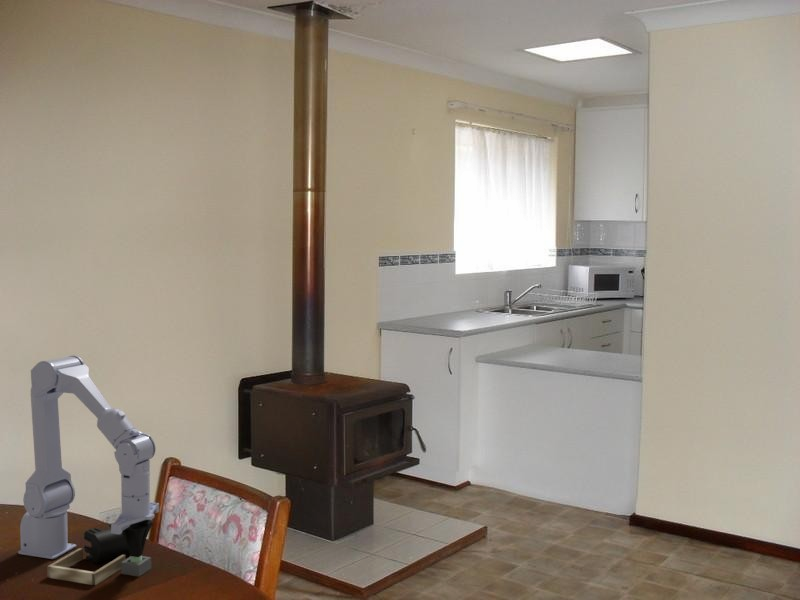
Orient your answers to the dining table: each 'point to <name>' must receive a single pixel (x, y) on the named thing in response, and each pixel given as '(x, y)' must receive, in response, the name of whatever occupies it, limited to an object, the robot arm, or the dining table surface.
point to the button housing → (136, 566)
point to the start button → (135, 559)
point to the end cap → (104, 545)
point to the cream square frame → (81, 576)
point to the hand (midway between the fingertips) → (136, 555)
